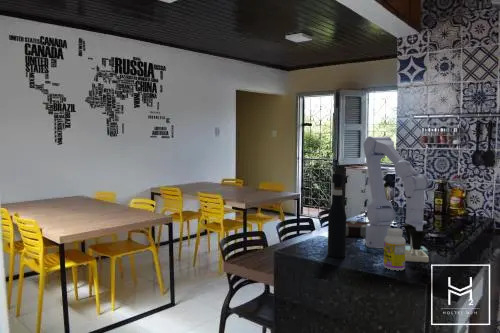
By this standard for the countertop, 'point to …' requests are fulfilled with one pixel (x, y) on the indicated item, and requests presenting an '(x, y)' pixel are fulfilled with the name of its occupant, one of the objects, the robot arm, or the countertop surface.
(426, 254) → the tensioner block
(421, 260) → the tray
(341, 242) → the wine bottle
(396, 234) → the supplement bottle
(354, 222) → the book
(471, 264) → the countertop surface
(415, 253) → the spice jar
